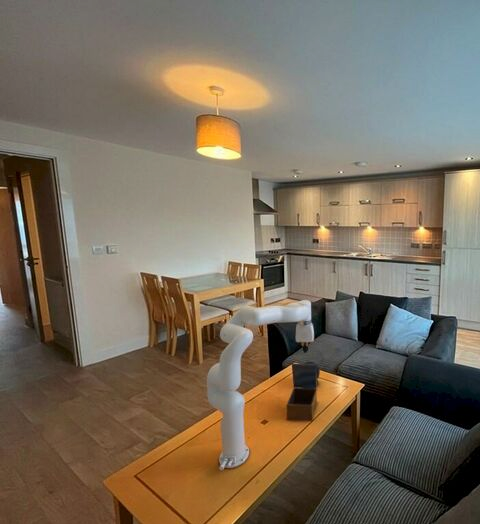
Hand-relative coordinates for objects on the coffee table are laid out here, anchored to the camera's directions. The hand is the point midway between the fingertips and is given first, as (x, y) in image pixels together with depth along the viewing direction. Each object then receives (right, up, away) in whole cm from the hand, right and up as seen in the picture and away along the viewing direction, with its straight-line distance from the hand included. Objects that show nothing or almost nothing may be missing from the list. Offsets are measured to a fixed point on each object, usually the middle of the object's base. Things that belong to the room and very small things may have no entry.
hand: (305, 351), depth 166 cm
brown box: (-1, -32, -5) cm, 32 cm away
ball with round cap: (0, -28, +20) cm, 35 cm away
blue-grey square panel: (0, -14, -2) cm, 14 cm away
